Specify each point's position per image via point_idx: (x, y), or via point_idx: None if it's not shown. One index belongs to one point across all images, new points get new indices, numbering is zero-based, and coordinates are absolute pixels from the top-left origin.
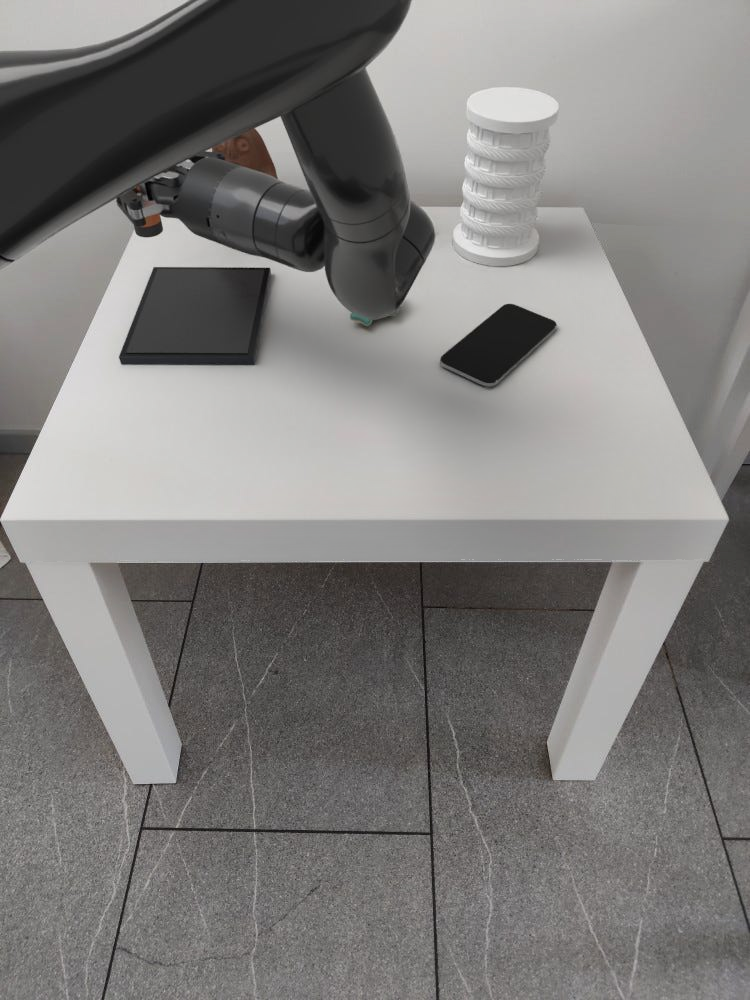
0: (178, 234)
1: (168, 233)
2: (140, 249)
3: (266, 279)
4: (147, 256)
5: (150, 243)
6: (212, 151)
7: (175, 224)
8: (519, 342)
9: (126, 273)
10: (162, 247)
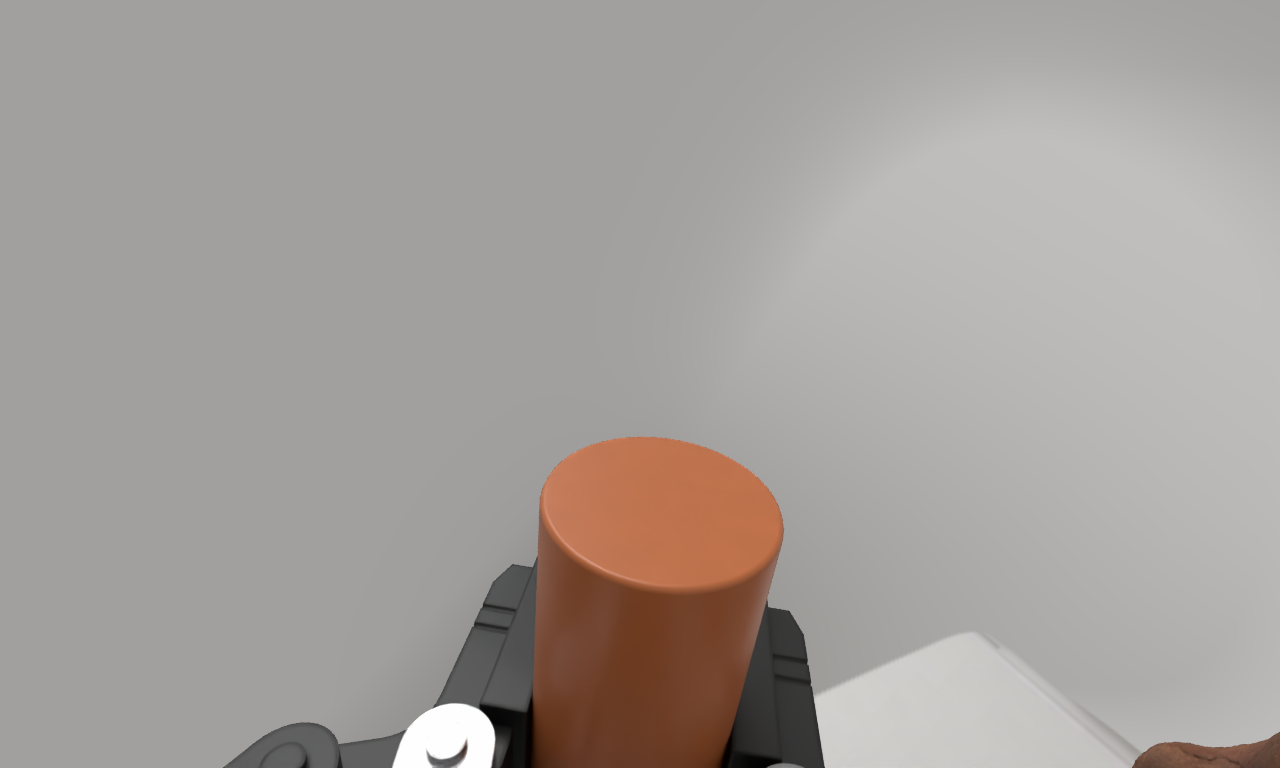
0: (949, 763)
1: (928, 733)
2: (819, 712)
3: None
4: None
5: (858, 719)
6: (1269, 752)
7: (970, 723)
8: None
9: None
10: (870, 762)
